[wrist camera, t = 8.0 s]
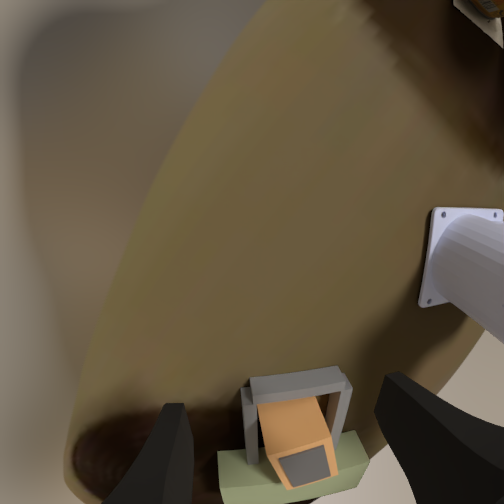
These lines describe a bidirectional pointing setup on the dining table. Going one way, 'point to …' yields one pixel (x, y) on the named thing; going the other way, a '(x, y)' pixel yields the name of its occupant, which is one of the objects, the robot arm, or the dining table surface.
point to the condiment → (484, 15)
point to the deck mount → (255, 459)
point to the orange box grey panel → (297, 441)
